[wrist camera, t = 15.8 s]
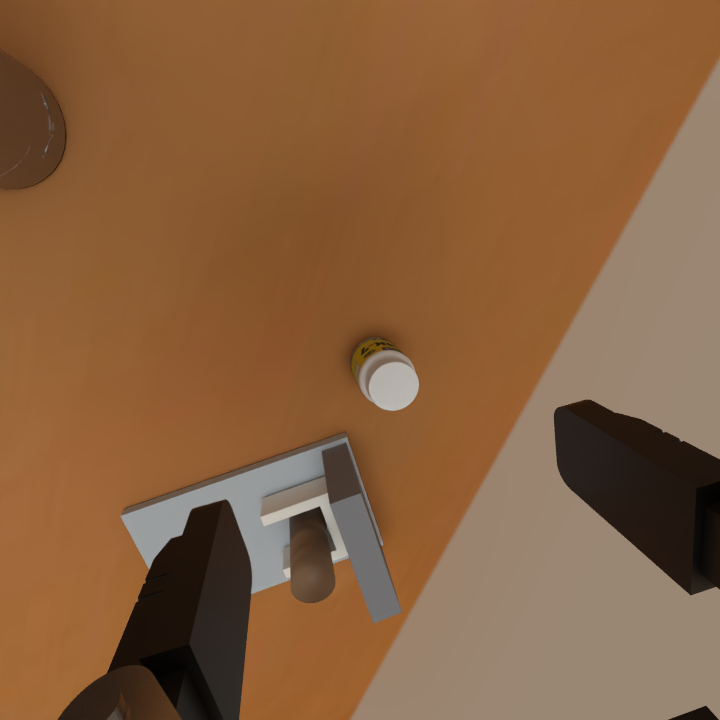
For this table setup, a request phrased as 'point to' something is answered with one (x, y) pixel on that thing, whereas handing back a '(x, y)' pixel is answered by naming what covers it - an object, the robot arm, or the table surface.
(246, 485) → the board with wall
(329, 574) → the dowel
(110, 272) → the table surface
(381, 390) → the supplement bottle
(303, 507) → the cradle
